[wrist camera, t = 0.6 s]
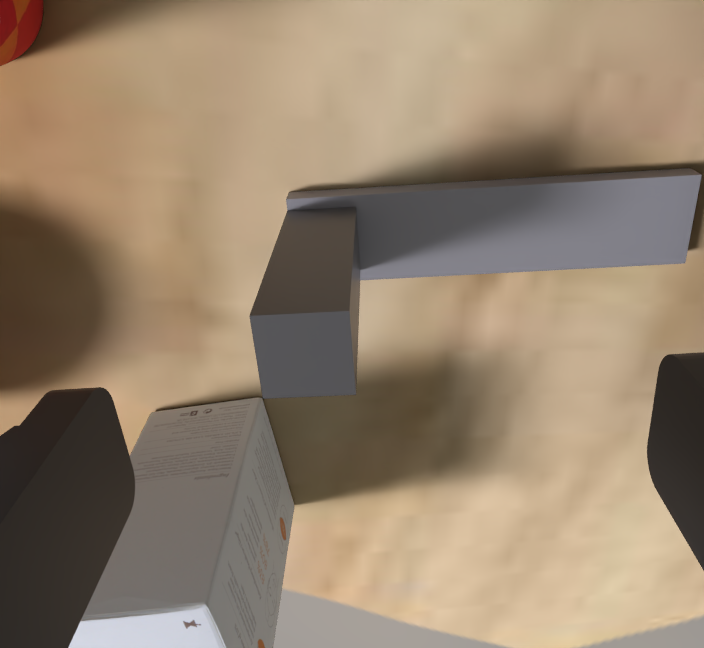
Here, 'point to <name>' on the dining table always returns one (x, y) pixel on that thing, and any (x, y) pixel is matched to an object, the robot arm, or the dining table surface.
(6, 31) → the paper cup
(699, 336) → the dining table surface
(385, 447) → the dining table surface
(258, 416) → the small box
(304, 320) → the grey l-shaped bracket
